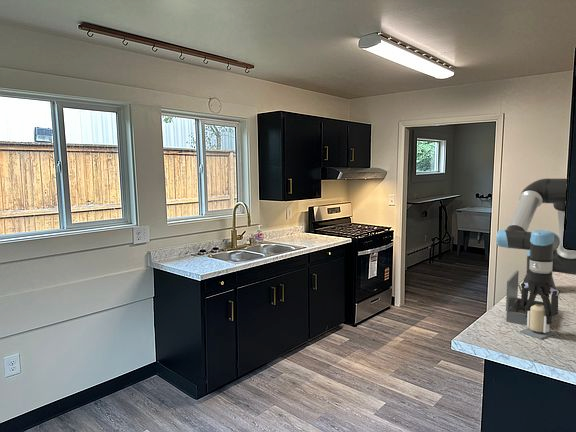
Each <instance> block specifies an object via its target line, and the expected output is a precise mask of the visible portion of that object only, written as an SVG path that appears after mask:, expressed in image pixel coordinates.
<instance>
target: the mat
mask: <svg viewBox="0 0 576 432" xmlns="http://www.w3.org/2000/svg"><path fill="white" fill-rule="evenodd" d="M519 333H520V334H524V335H525V336H526V335H527V336H529V337H532V338H535V339H538V340H543V339H546V338H548V337H552V336H555V335H556V332H555V331H552V330H549V332H546V333H544V332H536V331H533V330H531V329H530V327H527V328H525V329H522V330H519Z"/></svg>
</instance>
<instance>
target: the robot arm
mask: <svg viewBox="0 0 576 432" xmlns="http://www.w3.org/2000/svg"><path fill="white" fill-rule="evenodd" d="M567 179H568V178H542V179H541V178H540V179H537V180H535V181H533V182H531V183H529V184H528V185H527V186H526V187H524V189H523V190H522V191H521V193H520V194H519V196H518V200H519V202H518V204H517V206H516V208H515V210H514V212H513V214H512V216H511V219H510V221H509V223H508V224H507V227H506V229H505V228H504V229H500V230H498V231H497V232H496V237H495V238H496V239H495V240H496V245H497V246H498V247H500V248H507V249H514V250H515V249H517V250H526V251H527V253H526V272H525V273H526V274H525V276H524V278H523V281H522V282H521V283H520V287H521V289H522V294H520V295H521V296H520V297H521V298H520V299H521V307H523V308H524V309H523V310H524V311H525V312H524V314H525V317H526V318H527V325H526V327H527V328H530V307H532V306H533V303H534V301H536V297H537V296H540V299H542V302H543V304H544V308H545V312H546V315H545V316H544V324H543V332H544V333H546V332H549V331H550V325H552V323H553V317H556V316H558V315H559V295H560V292H561V291H560V290H559V289H556V288H557V287H556V283H555V280H554V277H553V273H558V274H559V273H560V274H568V275H574V276H576V251H573V250H566V249H564V248H563V231H564V215H565V201H566V184H567ZM542 204H552V205H553V208H554V209H555V210H556V211H557V219H558V233H559V235H558V234H557V233H556V232H555V233H554V232H552V231H550V230H533V231H528V229H529V228H530V224H531V223H532V221H533V218H534V216H535V213H536V211H537V209H538V208H539V207H541V205H542ZM550 295H551V297H550ZM550 303H551V304H550Z"/></svg>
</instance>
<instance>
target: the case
mask: <svg viewBox="0 0 576 432" xmlns="http://www.w3.org/2000/svg"><path fill="white" fill-rule="evenodd" d="M519 274H520V271H519V270H515V272H513V274H512V275H511V276H510V278H508V279H507V281H506V297H505V298H506V299H505V301H506V302H505V303H506V304H505V312H506V323H507V322H508V323H511V324H517V325H522V326H527V318H526V317H525V313H523V312H518V311H517V310H518V309H521V310H525V309H524V308H523V307H521V298H520V297H518V296H519V292H520V295H522V287H521V283H520V284H519ZM518 291H519V292H518ZM535 304H538V305H540V304H541V305H544V304H543V301H538V300H535V301H534V303H533V305H535ZM550 304H551V302H550Z"/></svg>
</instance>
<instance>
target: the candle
mask: <svg viewBox="0 0 576 432" xmlns="http://www.w3.org/2000/svg"><path fill="white" fill-rule="evenodd" d="M545 315H546V312H545V308H544V305H541V304H540V305H538V304H535V305H533V306H532V307H530V327H529V328H530V329H531V330H533V331H536V332H543V324H544V316H545Z"/></svg>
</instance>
